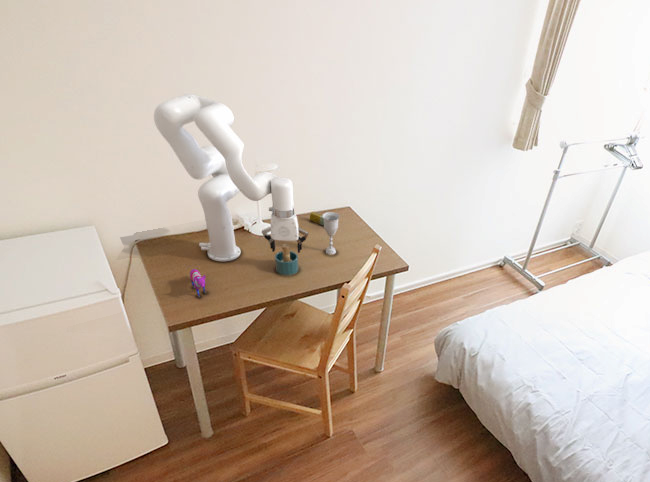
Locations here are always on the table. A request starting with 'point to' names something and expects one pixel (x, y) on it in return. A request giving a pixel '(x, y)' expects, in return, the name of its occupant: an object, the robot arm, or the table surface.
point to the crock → (286, 264)
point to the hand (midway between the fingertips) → (286, 250)
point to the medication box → (317, 218)
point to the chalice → (330, 228)
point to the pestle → (286, 253)
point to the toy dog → (197, 280)
